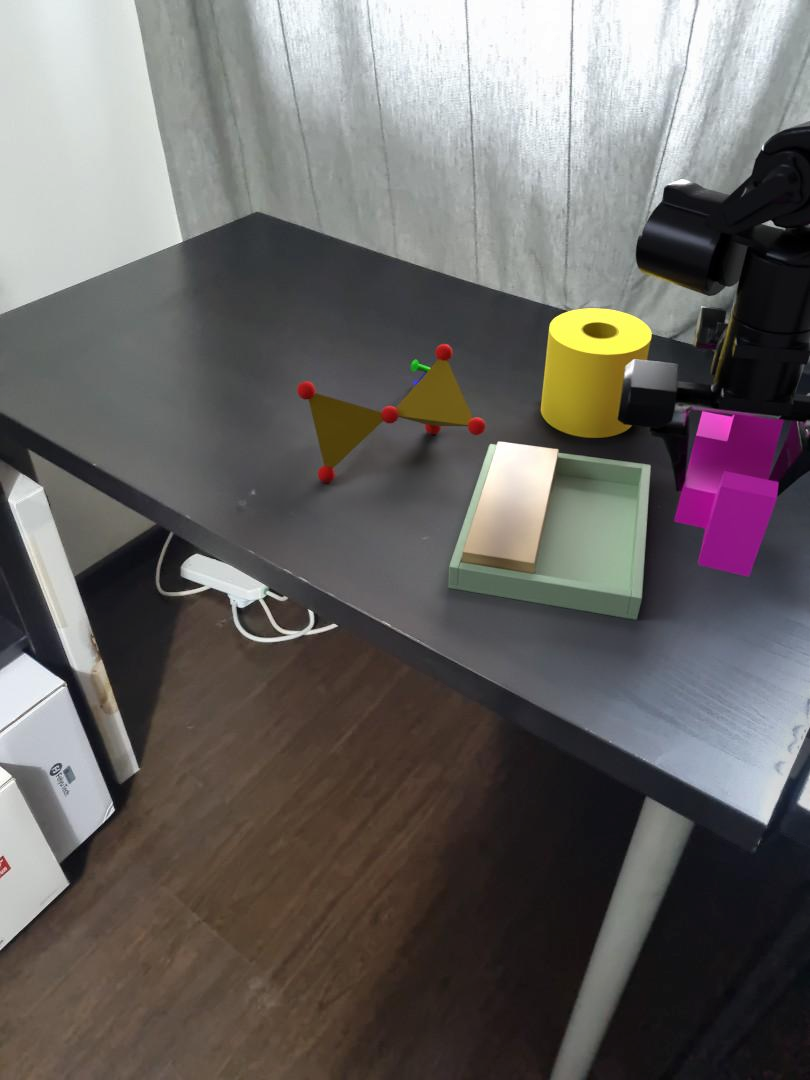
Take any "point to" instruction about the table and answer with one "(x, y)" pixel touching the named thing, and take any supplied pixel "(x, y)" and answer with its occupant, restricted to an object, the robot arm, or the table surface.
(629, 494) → the frame
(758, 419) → the toy block
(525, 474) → the back pad
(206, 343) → the table surface
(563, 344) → the yellow hollow cylinder
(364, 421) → the molecule model
